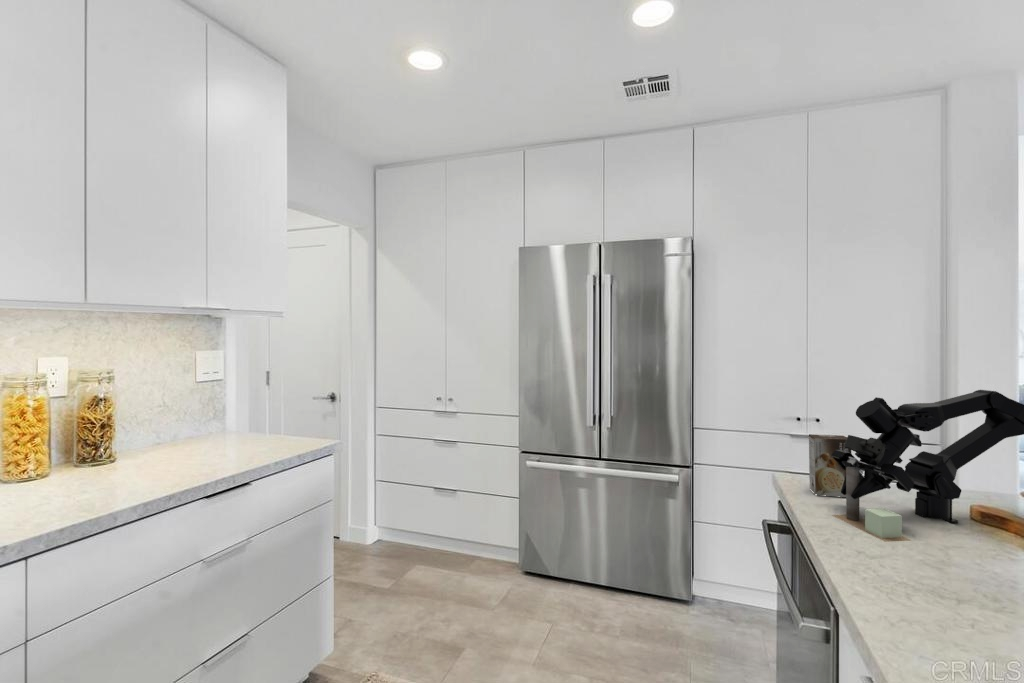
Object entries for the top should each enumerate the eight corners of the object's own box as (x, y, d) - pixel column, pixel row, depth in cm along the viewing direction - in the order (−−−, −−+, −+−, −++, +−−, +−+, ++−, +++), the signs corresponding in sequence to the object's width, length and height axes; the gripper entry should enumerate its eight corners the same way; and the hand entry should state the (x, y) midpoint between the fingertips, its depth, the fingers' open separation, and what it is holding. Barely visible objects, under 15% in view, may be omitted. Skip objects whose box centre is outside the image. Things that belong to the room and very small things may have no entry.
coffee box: (845, 492, 146) (845, 435, 146) (852, 498, 140) (852, 439, 140) (808, 489, 149) (808, 433, 148) (814, 496, 142) (814, 437, 142)
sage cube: (884, 529, 115) (884, 508, 115) (901, 537, 111) (901, 515, 111) (865, 530, 115) (865, 509, 115) (881, 538, 110) (881, 516, 110)
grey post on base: (855, 518, 125) (855, 464, 125) (911, 544, 109) (911, 483, 109) (831, 519, 125) (831, 465, 125) (884, 546, 109) (884, 484, 109)
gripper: (837, 417, 131) (797, 462, 130) (902, 430, 113) (857, 484, 112) (864, 447, 133) (826, 492, 131) (934, 465, 114) (890, 518, 113)
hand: (847, 495), depth 122 cm, fingers closed on grey post on base, 3 cm apart
